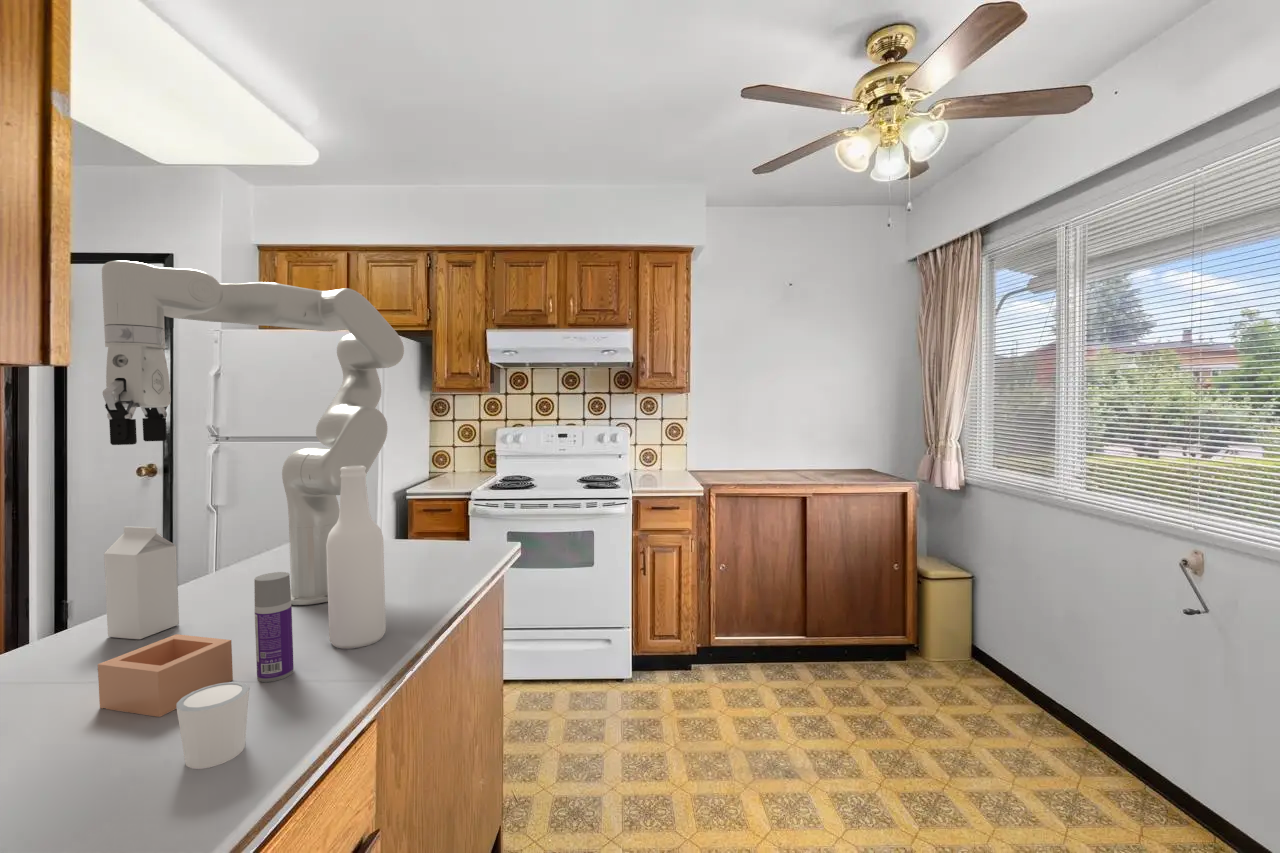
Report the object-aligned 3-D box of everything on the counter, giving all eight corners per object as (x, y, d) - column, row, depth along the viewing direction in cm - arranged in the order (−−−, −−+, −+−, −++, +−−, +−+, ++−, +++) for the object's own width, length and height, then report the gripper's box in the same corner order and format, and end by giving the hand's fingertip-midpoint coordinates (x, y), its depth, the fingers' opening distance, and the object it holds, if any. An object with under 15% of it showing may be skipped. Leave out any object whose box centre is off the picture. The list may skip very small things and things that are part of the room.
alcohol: (318, 650, 96) (312, 469, 95) (347, 629, 105) (342, 464, 104) (370, 650, 96) (365, 469, 94) (395, 629, 104) (390, 463, 103)
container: (301, 670, 89) (297, 573, 88) (272, 684, 84) (269, 582, 84) (278, 665, 90) (275, 570, 90) (249, 679, 86) (245, 579, 85)
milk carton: (139, 640, 101) (135, 532, 100) (107, 637, 102) (102, 530, 101) (179, 625, 108) (175, 523, 107) (148, 622, 109) (144, 522, 108)
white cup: (204, 738, 71) (202, 682, 70) (263, 735, 71) (261, 679, 71) (162, 774, 64) (160, 712, 63) (228, 770, 64) (226, 708, 64)
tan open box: (177, 673, 88) (176, 634, 88) (232, 679, 86) (231, 640, 85) (99, 708, 78) (97, 664, 78) (159, 717, 76) (157, 671, 75)
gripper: (134, 333, 88) (139, 445, 89) (186, 344, 105) (190, 439, 106) (73, 332, 86) (79, 447, 87) (136, 344, 103) (140, 440, 103)
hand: (140, 442), depth 96 cm, fingers open, 9 cm apart
